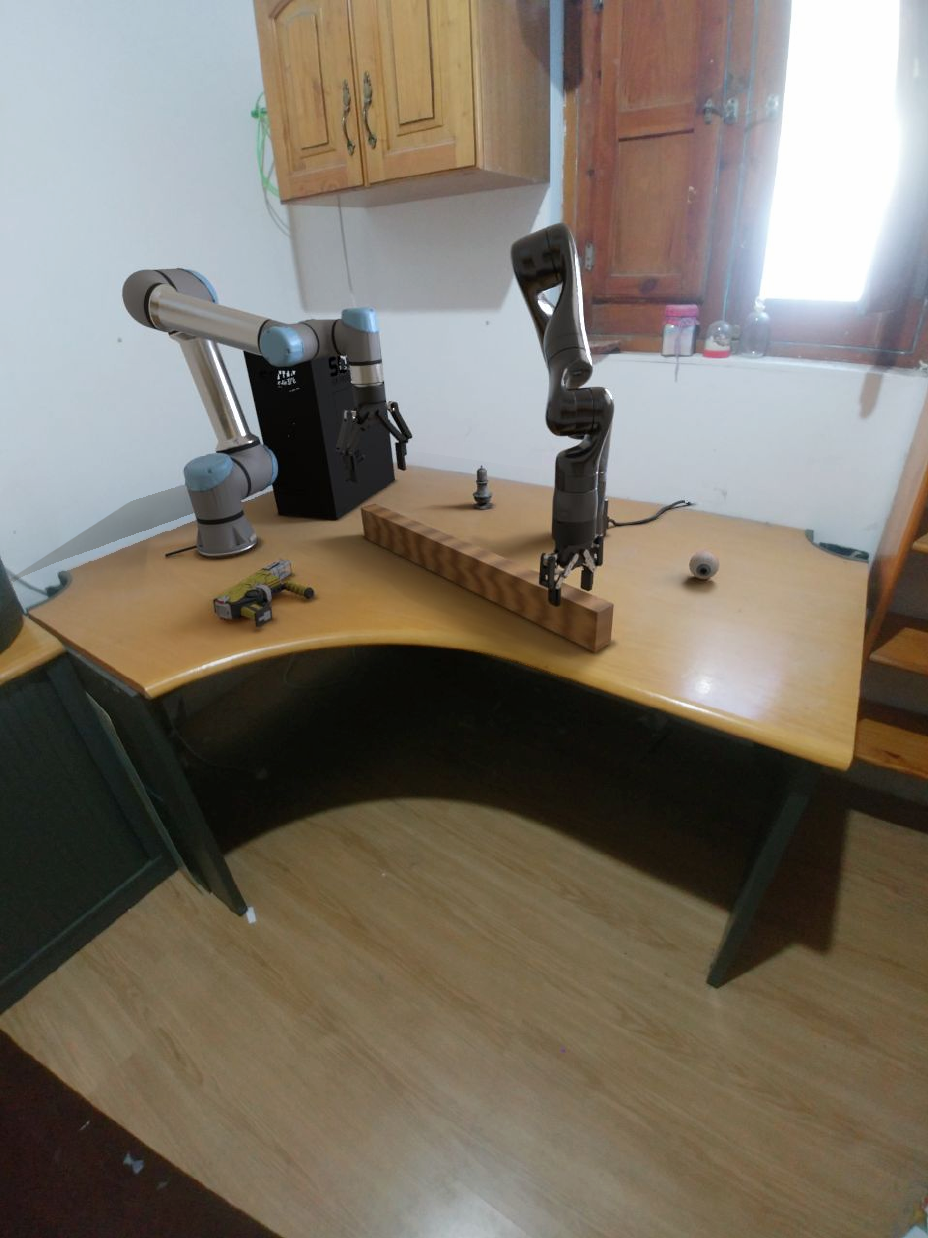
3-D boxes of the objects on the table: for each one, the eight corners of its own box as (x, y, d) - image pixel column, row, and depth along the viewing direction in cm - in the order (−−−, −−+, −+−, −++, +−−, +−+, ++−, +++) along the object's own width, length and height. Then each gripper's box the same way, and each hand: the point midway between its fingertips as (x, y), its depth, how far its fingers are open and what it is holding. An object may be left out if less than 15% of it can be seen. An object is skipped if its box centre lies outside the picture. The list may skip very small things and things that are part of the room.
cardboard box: (342, 476, 210) (320, 334, 187) (395, 480, 203) (378, 333, 180) (278, 514, 179) (242, 350, 157) (337, 519, 173) (309, 349, 150)
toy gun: (334, 567, 137) (277, 555, 141) (271, 613, 117) (207, 598, 121) (335, 586, 139) (279, 574, 143) (273, 634, 119) (211, 619, 123)
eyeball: (686, 582, 128) (690, 556, 125) (688, 570, 133) (692, 545, 130) (716, 586, 126) (721, 559, 123) (717, 573, 131) (722, 547, 128)
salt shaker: (491, 509, 174) (490, 468, 168) (471, 508, 175) (469, 468, 169) (494, 502, 179) (493, 462, 173) (475, 502, 180) (473, 462, 174)
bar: (610, 643, 110) (614, 603, 106) (594, 652, 107) (597, 612, 103) (378, 532, 163) (374, 503, 159) (364, 537, 161) (360, 507, 157)
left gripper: (403, 374, 146) (411, 461, 157) (310, 390, 133) (326, 484, 144) (421, 377, 141) (428, 467, 152) (327, 393, 128) (342, 491, 139)
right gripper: (585, 497, 108) (580, 578, 116) (528, 517, 101) (528, 603, 109) (619, 507, 103) (611, 591, 111) (562, 529, 96) (559, 618, 104)
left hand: (379, 475), depth 148 cm, fingers open, 13 cm apart
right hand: (570, 597), depth 110 cm, fingers open, 8 cm apart
